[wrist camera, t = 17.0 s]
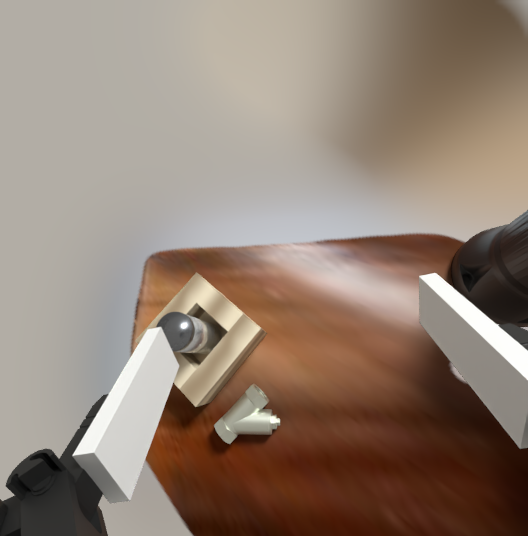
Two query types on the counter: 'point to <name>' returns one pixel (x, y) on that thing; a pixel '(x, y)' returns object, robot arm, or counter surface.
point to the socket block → (225, 352)
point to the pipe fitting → (247, 416)
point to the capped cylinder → (189, 333)
